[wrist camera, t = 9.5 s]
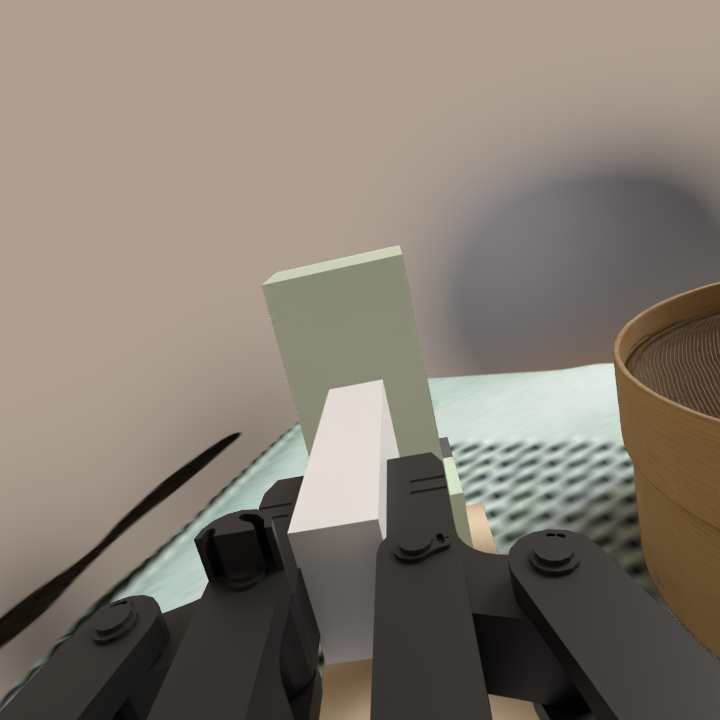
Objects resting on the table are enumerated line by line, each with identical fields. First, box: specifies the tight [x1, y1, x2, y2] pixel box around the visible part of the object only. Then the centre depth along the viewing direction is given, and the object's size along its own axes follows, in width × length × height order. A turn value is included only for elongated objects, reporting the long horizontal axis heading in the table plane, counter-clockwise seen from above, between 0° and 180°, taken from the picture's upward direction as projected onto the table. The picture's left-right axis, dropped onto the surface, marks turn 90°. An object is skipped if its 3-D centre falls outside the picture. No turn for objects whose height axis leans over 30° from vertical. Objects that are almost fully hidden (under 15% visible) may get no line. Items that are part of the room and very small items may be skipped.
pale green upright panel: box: [262, 245, 474, 549], centre depth 23 cm, size 3×6×16 cm, turn 88°
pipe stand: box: [319, 503, 540, 720], centre depth 22 cm, size 24×9×7 cm, turn 178°
